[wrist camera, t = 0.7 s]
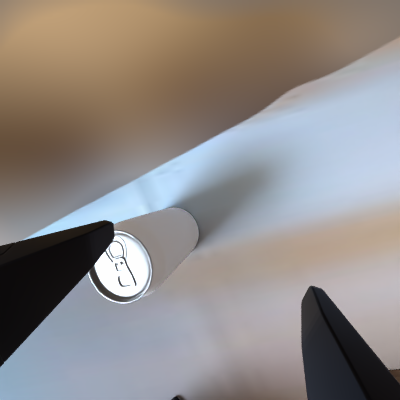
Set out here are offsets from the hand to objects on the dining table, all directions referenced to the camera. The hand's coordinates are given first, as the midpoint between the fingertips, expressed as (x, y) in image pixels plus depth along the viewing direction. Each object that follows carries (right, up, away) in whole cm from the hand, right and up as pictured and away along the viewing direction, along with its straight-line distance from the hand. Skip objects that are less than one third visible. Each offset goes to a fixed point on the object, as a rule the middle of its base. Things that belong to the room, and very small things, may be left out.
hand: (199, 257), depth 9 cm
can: (-3, -2, +18) cm, 18 cm away
